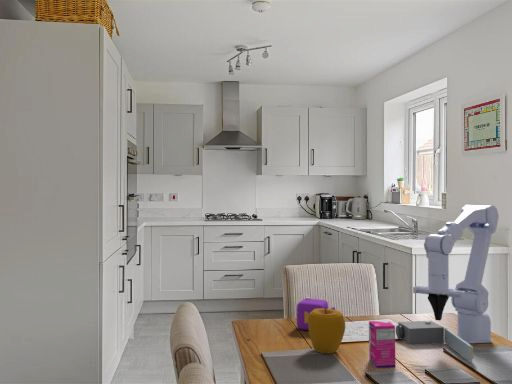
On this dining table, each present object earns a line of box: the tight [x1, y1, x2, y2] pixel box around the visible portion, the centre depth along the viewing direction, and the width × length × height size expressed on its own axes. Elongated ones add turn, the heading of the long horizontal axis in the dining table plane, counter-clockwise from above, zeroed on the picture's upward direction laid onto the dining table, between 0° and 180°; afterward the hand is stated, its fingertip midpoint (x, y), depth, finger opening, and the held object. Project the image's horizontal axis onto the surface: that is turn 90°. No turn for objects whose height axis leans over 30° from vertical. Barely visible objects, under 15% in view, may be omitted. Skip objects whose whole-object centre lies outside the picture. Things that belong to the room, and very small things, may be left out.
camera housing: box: [395, 320, 445, 346], centre depth 156 cm, size 13×8×6 cm, turn 99°
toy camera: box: [296, 296, 336, 331], centre depth 169 cm, size 11×14×10 cm
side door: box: [444, 327, 474, 363], centre depth 144 cm, size 18×1×4 cm, turn 0°
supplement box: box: [368, 319, 397, 369], centre depth 134 cm, size 6×6×12 cm
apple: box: [308, 308, 346, 355], centre depth 145 cm, size 11×11×13 cm
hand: (438, 319), depth 146 cm, fingers closed
